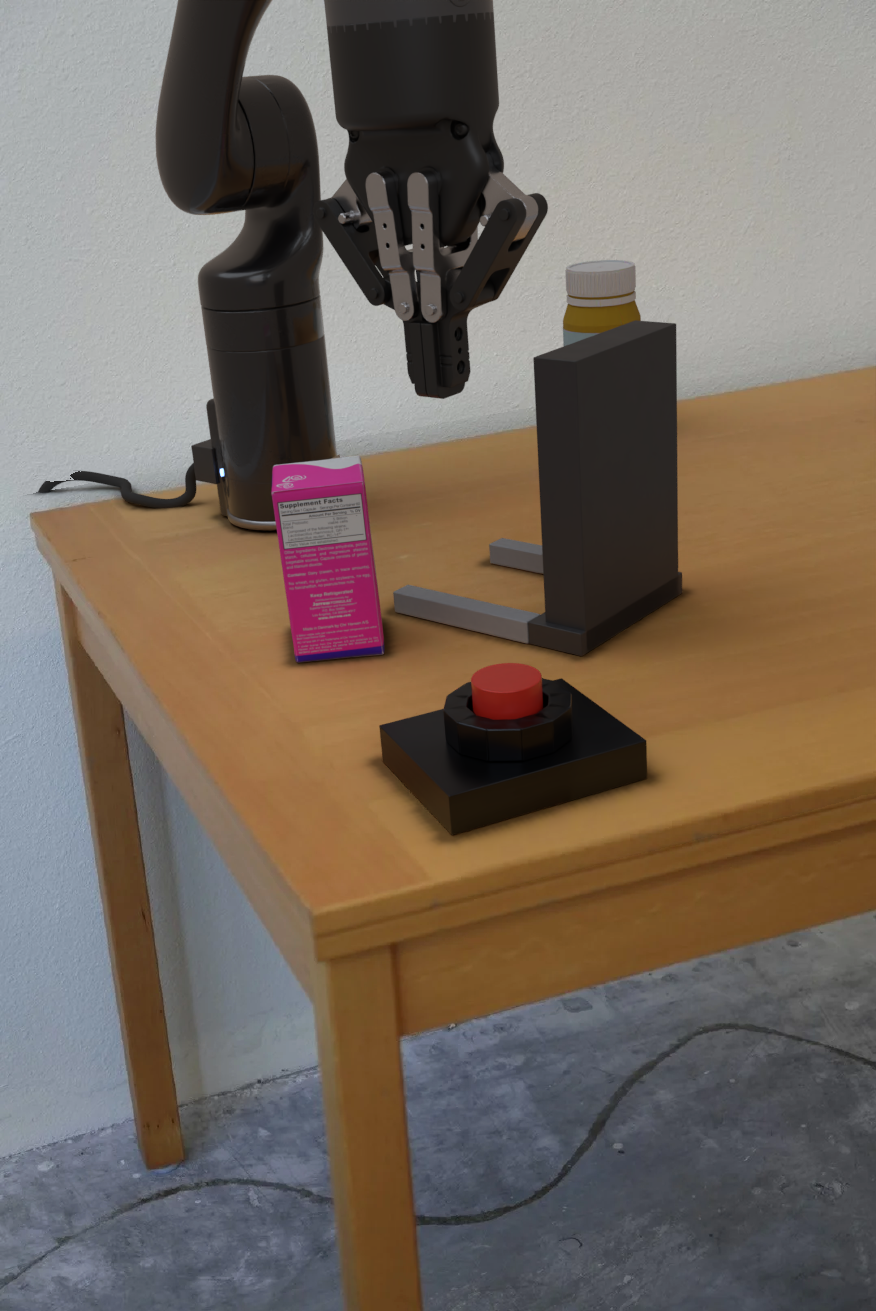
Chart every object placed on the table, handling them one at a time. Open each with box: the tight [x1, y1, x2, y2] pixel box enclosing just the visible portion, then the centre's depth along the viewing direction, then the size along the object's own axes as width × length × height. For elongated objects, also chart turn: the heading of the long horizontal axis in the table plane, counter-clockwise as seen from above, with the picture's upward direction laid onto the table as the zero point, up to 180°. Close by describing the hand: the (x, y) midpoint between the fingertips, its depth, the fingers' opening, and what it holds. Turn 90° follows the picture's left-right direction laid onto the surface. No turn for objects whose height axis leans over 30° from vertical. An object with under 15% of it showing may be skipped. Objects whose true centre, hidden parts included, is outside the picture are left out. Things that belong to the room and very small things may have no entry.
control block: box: [379, 677, 648, 836], centre depth 76 cm, size 11×9×4 cm
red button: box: [470, 662, 543, 720], centre depth 75 cm, size 4×4×2 cm
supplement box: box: [272, 455, 385, 664], centre depth 92 cm, size 6×6×12 cm
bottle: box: [562, 259, 642, 347], centre depth 134 cm, size 7×7×15 cm
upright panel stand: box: [392, 320, 683, 657], centre depth 95 cm, size 15×12×18 cm
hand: (440, 393), depth 73 cm, fingers closed
